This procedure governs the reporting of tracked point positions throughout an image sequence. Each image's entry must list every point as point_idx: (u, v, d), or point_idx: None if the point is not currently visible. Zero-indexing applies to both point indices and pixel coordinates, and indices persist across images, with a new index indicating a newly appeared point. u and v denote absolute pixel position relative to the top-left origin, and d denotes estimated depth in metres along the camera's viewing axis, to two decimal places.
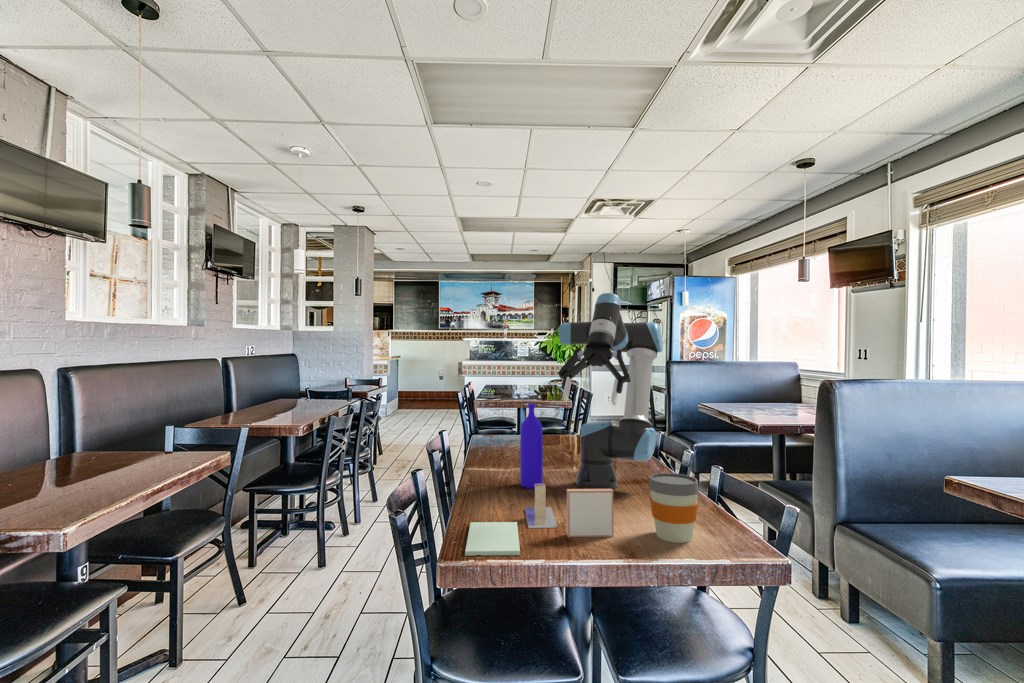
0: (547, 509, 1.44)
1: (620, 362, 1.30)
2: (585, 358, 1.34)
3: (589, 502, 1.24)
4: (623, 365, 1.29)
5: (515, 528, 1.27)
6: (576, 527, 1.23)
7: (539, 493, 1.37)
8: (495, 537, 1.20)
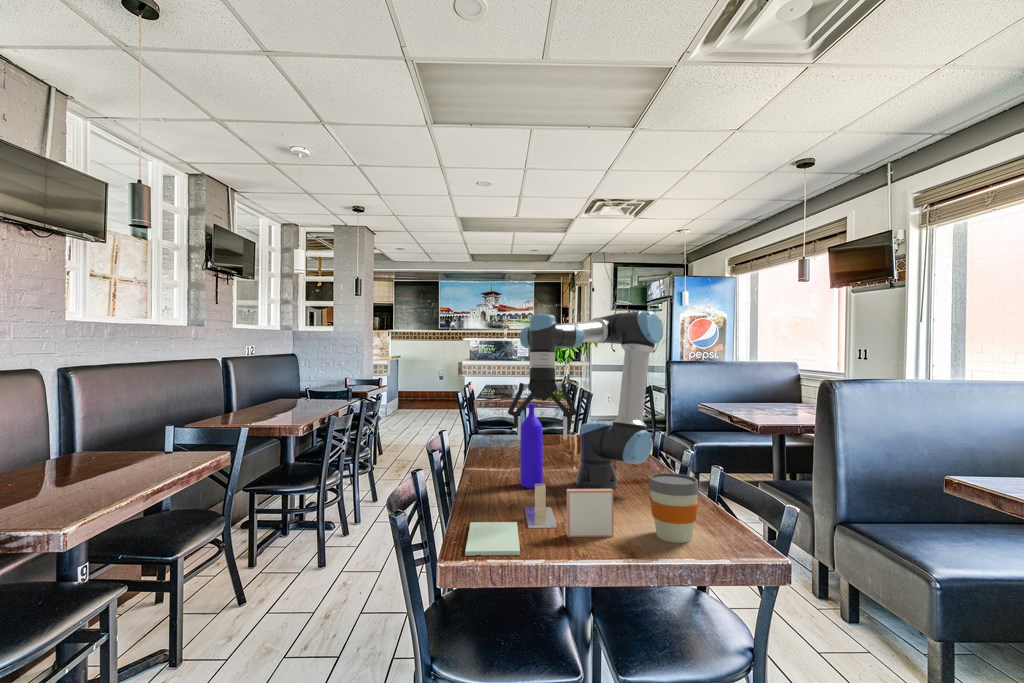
0: (547, 509, 1.44)
1: (566, 398, 1.38)
2: (533, 396, 1.37)
3: (589, 502, 1.24)
4: (570, 401, 1.38)
5: (515, 528, 1.27)
6: (576, 527, 1.23)
7: (539, 493, 1.37)
8: (495, 537, 1.20)
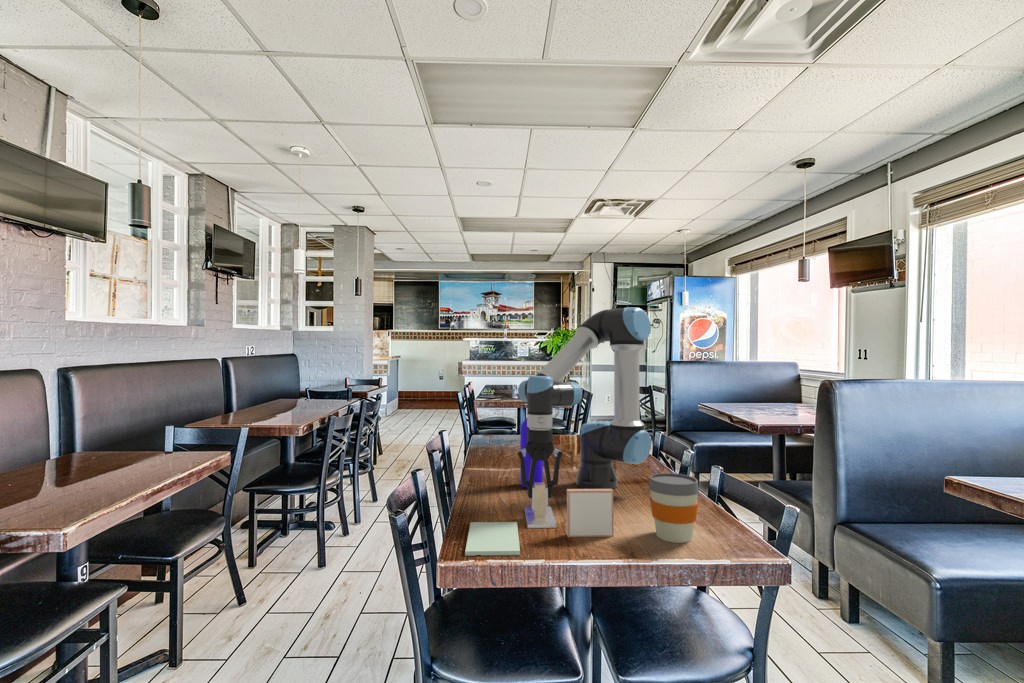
0: None
1: (556, 466, 1.37)
2: (535, 460, 1.37)
3: (589, 502, 1.24)
4: (557, 470, 1.37)
5: (515, 528, 1.27)
6: (576, 527, 1.23)
7: (538, 492, 1.37)
8: (495, 537, 1.20)
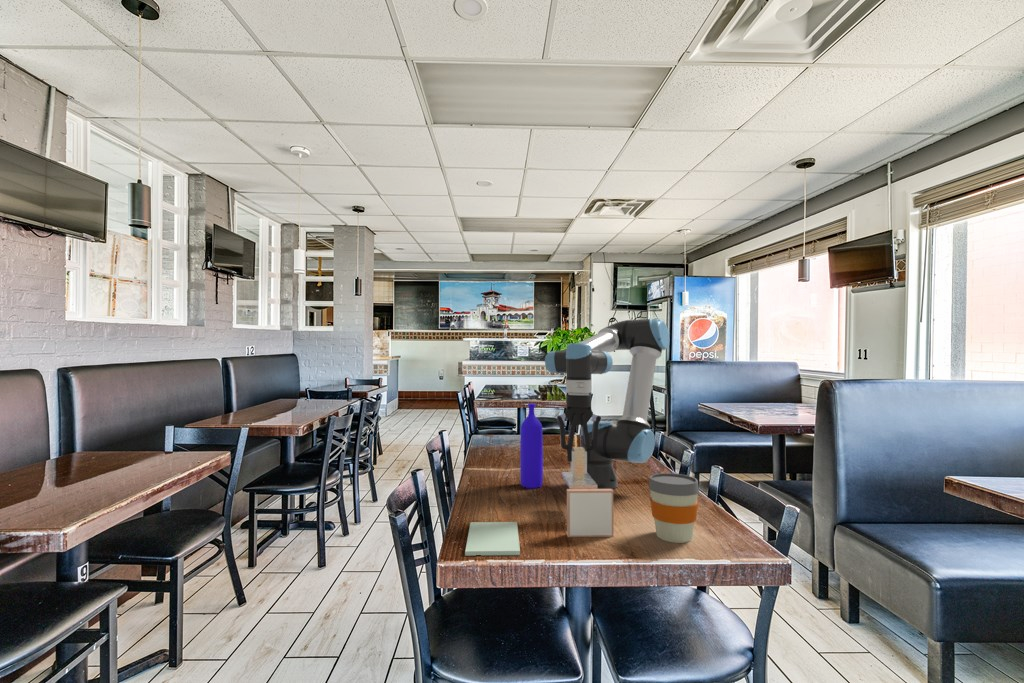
0: None
1: (595, 430, 1.41)
2: (574, 424, 1.41)
3: (589, 502, 1.23)
4: (596, 434, 1.41)
5: (515, 528, 1.27)
6: (576, 527, 1.23)
7: (578, 456, 1.40)
8: (495, 537, 1.20)
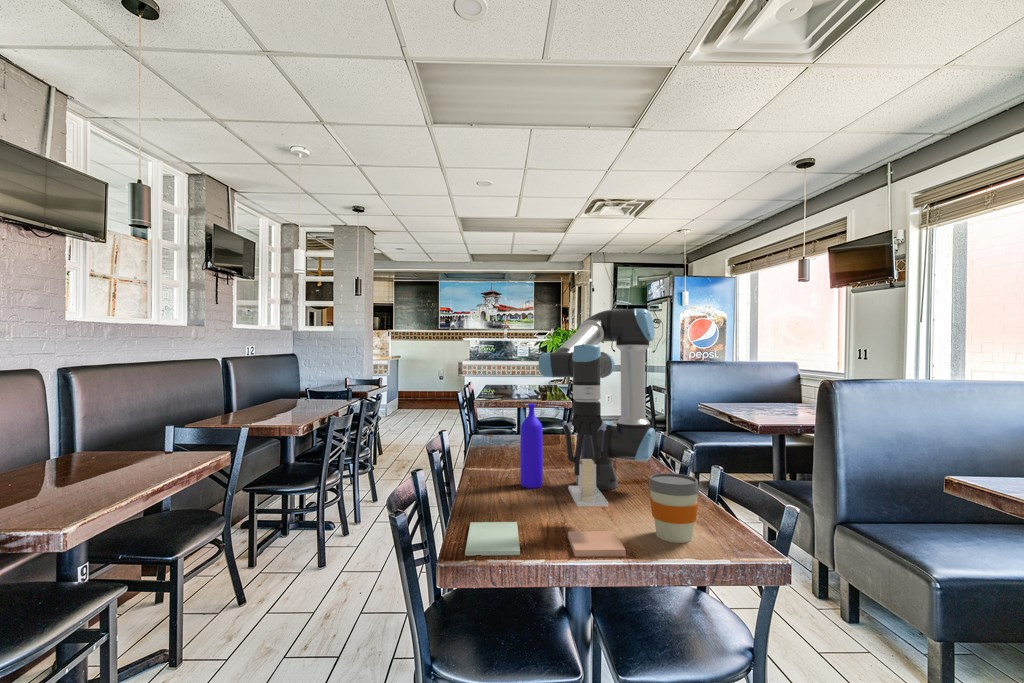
0: None
1: (605, 440, 1.28)
2: (582, 434, 1.27)
3: None
4: (606, 445, 1.28)
5: (515, 528, 1.27)
6: None
7: (586, 469, 1.27)
8: (495, 537, 1.20)
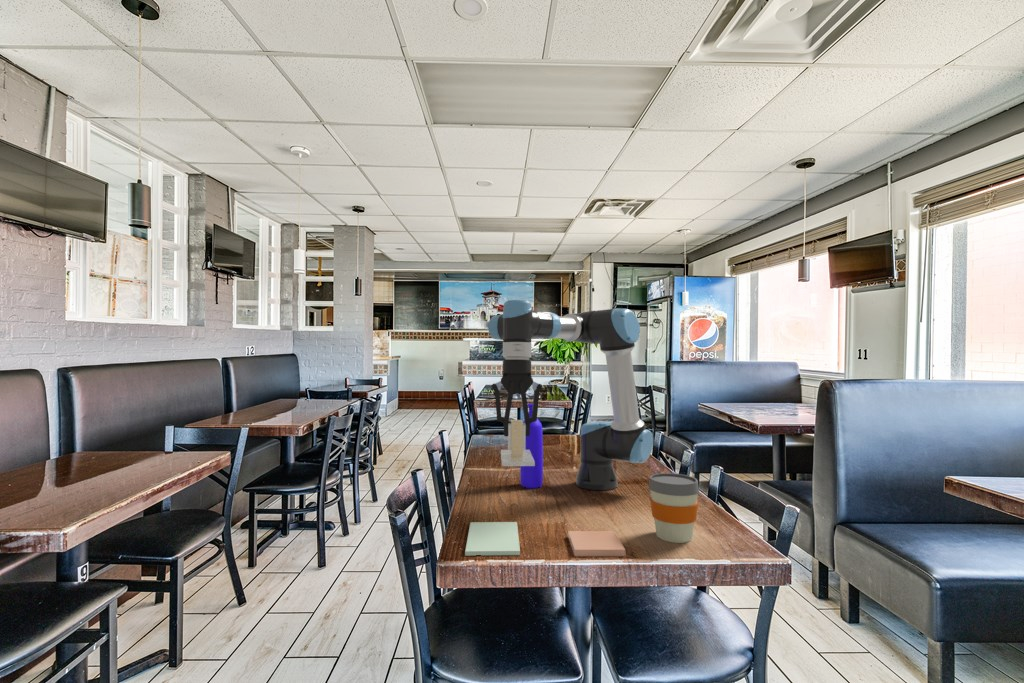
0: (525, 451, 1.29)
1: (535, 400, 1.23)
2: (511, 393, 1.22)
3: None
4: (536, 405, 1.22)
5: (515, 528, 1.27)
6: None
7: (515, 430, 1.22)
8: (495, 537, 1.20)
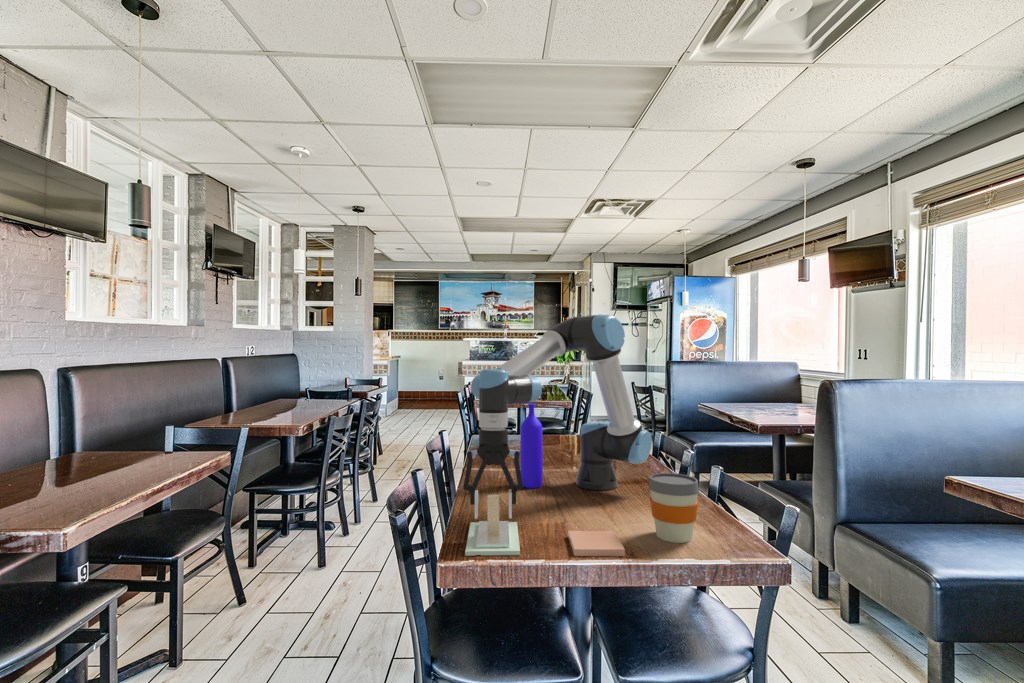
0: (503, 523, 1.28)
1: (516, 468, 1.21)
2: (484, 464, 1.21)
3: None
4: (519, 473, 1.21)
5: (515, 528, 1.27)
6: None
7: (491, 506, 1.20)
8: None
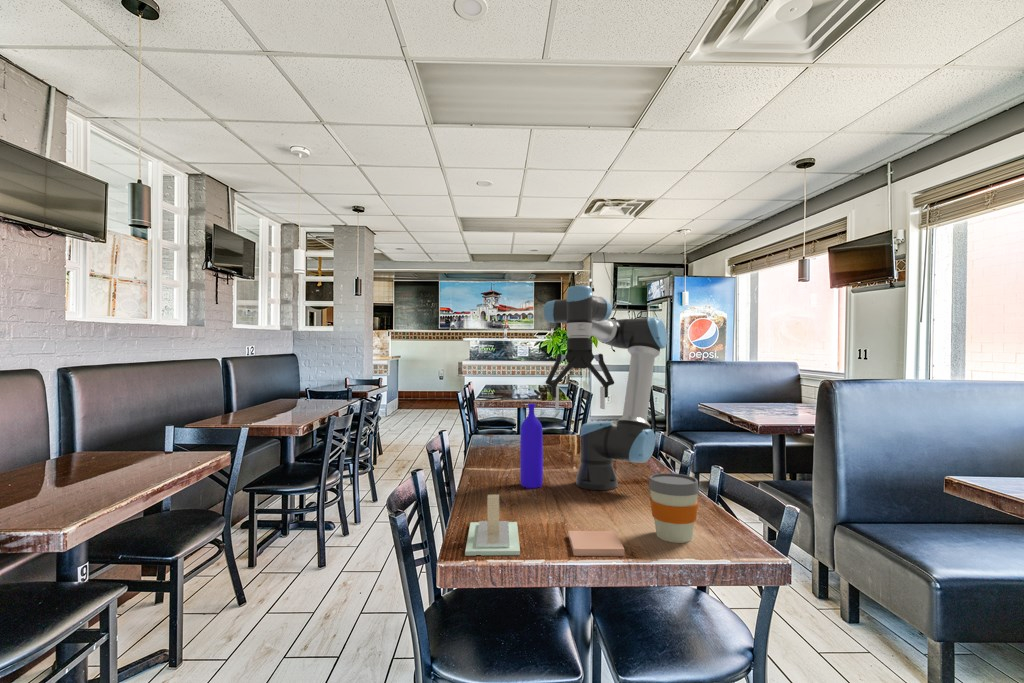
0: (503, 523, 1.28)
1: (604, 368, 1.40)
2: (571, 366, 1.39)
3: None
4: (607, 371, 1.40)
5: (515, 528, 1.27)
6: None
7: (491, 506, 1.20)
8: None
